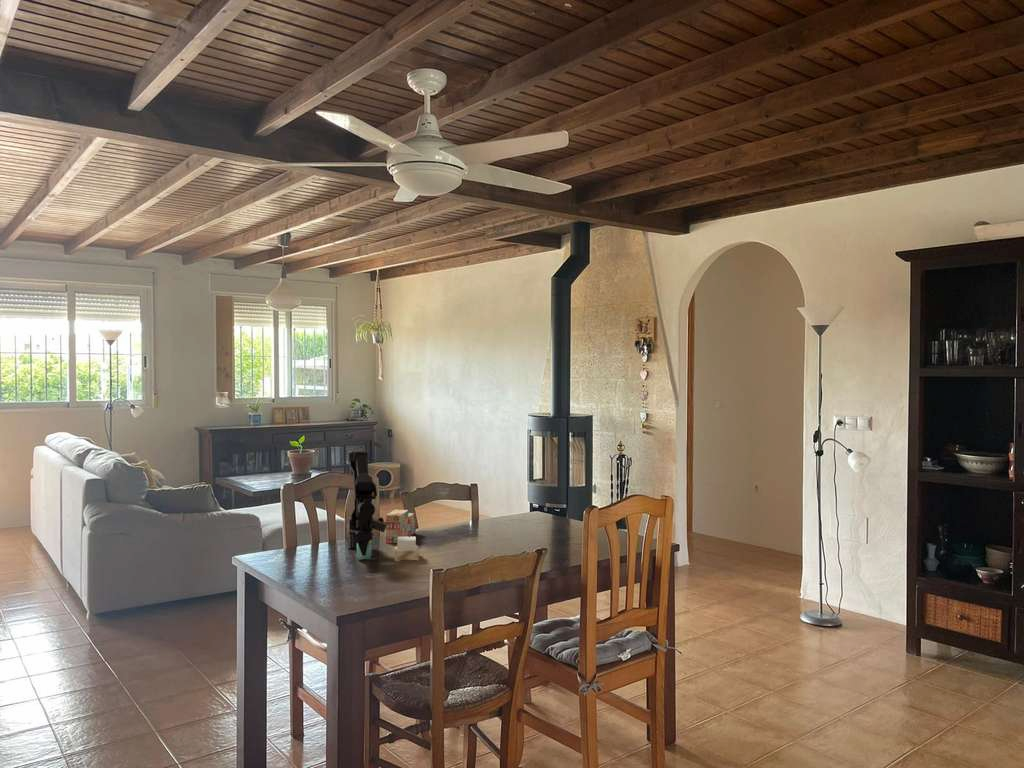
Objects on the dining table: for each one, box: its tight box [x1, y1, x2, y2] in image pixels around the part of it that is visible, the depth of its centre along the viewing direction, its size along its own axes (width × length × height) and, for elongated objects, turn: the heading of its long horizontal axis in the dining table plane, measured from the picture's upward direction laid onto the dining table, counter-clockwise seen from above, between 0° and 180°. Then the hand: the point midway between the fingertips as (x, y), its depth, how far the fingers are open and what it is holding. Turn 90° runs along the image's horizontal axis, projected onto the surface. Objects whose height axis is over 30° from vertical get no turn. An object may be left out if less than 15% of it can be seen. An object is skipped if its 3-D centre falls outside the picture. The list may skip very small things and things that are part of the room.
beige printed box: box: [385, 509, 416, 544], centre depth 338 cm, size 21×6×12 cm, turn 170°
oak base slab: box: [394, 545, 420, 562], centre depth 302 cm, size 9×9×4 cm
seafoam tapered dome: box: [356, 541, 372, 559], centre depth 299 cm, size 6×6×5 cm
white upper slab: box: [396, 535, 417, 551], centre depth 302 cm, size 7×7×4 cm
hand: (364, 553), depth 299 cm, fingers closed on seafoam tapered dome, 5 cm apart
